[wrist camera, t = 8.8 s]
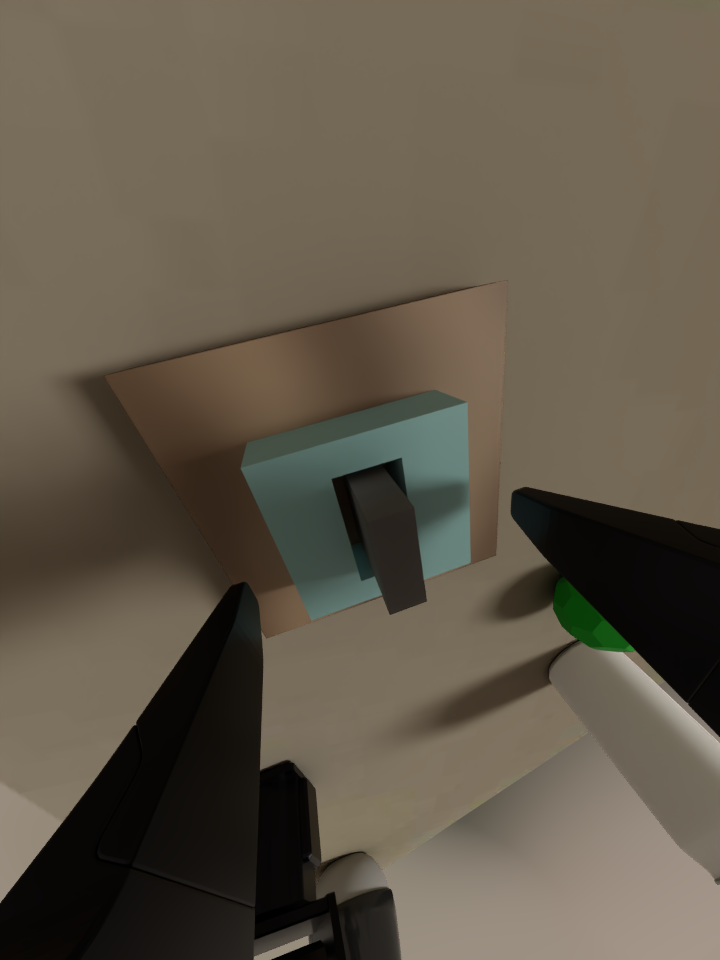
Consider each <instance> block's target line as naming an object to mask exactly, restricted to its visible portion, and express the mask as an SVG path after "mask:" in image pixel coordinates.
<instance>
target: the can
mask: <svg viewBox="0 0 720 960" xmlns="http://www.w3.org/2000/svg"><path fill="white" fill-rule="evenodd" d="M549 679H550V681H551V683H552V684H553V686H554V687H555V688H556V690H557V691H558V692H559V693H560V695H561V696H562V697H563V699H564V700H565V701H566V703H567V704H568V705H569V706H570V708H571V709H572V710H573V712H574V713H575V714H576V716H577V717H578V718H579V719H580V721H581V722H582V723H583V725H584V726H585V727H586V728H587V730H588V731H589V732H590V734H591V735H592V736H593V738H594V739H595V740H596V741H597V743H598V744H599V745H600V747H601V748H602V749H603V750H604V752H605V753H606V754H607V756H608V757H609V758H610V759H611V761H612V762H613V763H614V765H615V766H616V767H617V768H618V770H619V771H620V772H621V774H622V775H623V776H624V778H625V779H626V780H627V781H628V782H629V784H630V785H631V786H632V788H633V789H634V790H635V791H636V793H637V794H638V796H639V797H640V798H641V799H642V800H643V802H644V803H645V804H646V806H647V807H648V808H649V810H650V811H651V812H652V813H653V815H654V816H655V817H656V818H657V820H658V821H659V822H660V824H661V825H662V826H663V828H664V829H665V830H666V831H667V833H668V834H669V835H670V836H671V837H672V839H673V840H674V841H675V842H676V844H677V845H678V846H679V847H680V848H681V849H682V850H683V851H684V852H686V853H687V854H688V855H689V856H690V857H692V858H693V859H694V860H695V861H697V862H698V863H699V864H700V865H701V866H703V867H704V868H705V869H706V870H707V871H708V872H709V873H710V874H711V875H712V876H713V877H714V879H715V883H716V884H717V885H720V743H719V742H718V741H717V740H716V739H715V738H714V737H713V736H712V735H711V734H709V733H708V732H707V731H706V730H705V729H704V728H703V727H702V726H701V725H700V724H699V723H698V722H697V721H696V720H694V718H692V717H691V716H690V715H689V714H688V713H687V712H686V711H685V710H684V709H683V708H682V707H681V706H680V705H679V704H678V703H676V702H675V701H674V700H673V699H672V698H671V697H670V696H669V695H668V694H667V693H666V692H665V691H664V690H663V689H661V688H660V687H659V686H658V685H657V684H656V683H655V682H654V681H653V680H652V679H651V678H650V677H649V676H648V675H647V674H645V673H644V672H643V671H642V670H641V669H640V668H639V667H638V666H637V665H636V664H635V663H634V662H633V661H631V660H630V659H629V658H628V657H627V656H626V655H625V654H624V653H623V652H613V651H603V650H596V649H593V648H590V647H588V646H587V645H585V644H584V643H582V642H581V641H577V642H575V643H574V644H572V645H570V646H569V647H567V648H566V649H565V650H563V651H562V652H561V653H560V654H559V655H558V656H557V657H556V658H555V659H554V660H553V662H552V663H551V665H550V667H549Z"/></svg>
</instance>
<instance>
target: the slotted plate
mask: <svg viewBox="0 0 720 960" xmlns="http://www.w3.org/2000/svg"><path fill="white" fill-rule="evenodd" d="M385 462H386V466H387V471H388V474H389V475H390V476H391V477H392V479H393V480H394V481H395V483H396V484H397V485H398V487H399V488H400V489H401V490H402V492H403V493H404V494H405V496H406V497H407V498H408V499H409V501H410V502H411V503H412V505H413V506H414V509H415V517H416V524H417V532H418V539H419V547H420V554H421V562H422V569H423V576H424V580H425V579H428V578H431V577H433V576H436V575H439V574H442V573H444V572H447V571H450V570H453V569H455V568H458V567H461V566H464V565H466V564H469V563H471V552H470V500H469V448H468V402H466V401H463V400H461V399H458V398H455V397H453V396H450V395H448V394H445V393H442V392H440V391H437V390H433V391H429V392H426V393H422V394H418V395H415V396H411V397H408V398H404V399H401V400H397V401H394V402H390V403H386V404H383V405H379V406H376V407H372V408H369V409H365V410H361V411H358V412H354V413H351V414H347V415H344V416H340V417H337V418H333V419H329V420H326V421H322V422H319V423H315V424H312V425H308V426H305V427H301V428H297V429H294V430H290V431H287V432H283V433H280V434H276V435H272V436H269V437H265V438H262V439H258V440H255V441H251V442H248V443H247V445H246V449H245V453H244V457H243V461H242V464H241V470H242V472H243V475H244V477H245V479H246V481H247V483H248V485H249V487H250V490H251V492H252V494H253V496H254V498H255V500H256V503H257V505H258V507H259V509H260V511H261V513H262V515H263V518H264V520H265V522H266V524H267V526H268V528H269V530H270V533H271V535H272V537H273V539H274V541H275V543H276V546H277V548H278V550H279V552H280V554H281V556H282V558H283V561H284V563H285V565H286V567H287V569H288V571H289V574H290V576H291V578H292V580H293V582H294V584H295V586H296V589H297V591H298V593H299V595H300V597H301V599H302V601H303V604H304V606H305V608H306V610H307V612H308V614H309V617H310V619H311V621H312V620H315V619H317V618H320V617H323V616H326V615H328V614H331V613H334V612H337V611H340V610H342V609H345V608H348V607H351V606H353V605H356V604H359V603H362V602H364V601H367V600H370V599H373V598H375V597H378V596H381V595H382V594H381V591H380V588H379V586H378V583H377V581H376V578H375V576H374V573H373V571H372V568H371V566H370V563H369V561H368V558H367V556H366V553H365V551H364V548H363V546H362V543H361V542H360V543H357V544H354V545H350V541H349V538H348V534H347V531H346V528H345V524H344V521H343V517H342V514H341V510H340V507H339V504H338V500H337V497H336V493H335V490H334V487H333V483H332V480H331V479H333V478H336V477H340V476H343V475H346V474H349V473H353V472H356V471H359V470H362V469H366V468H369V467H372V466H375V465H379V464H382V463H385Z"/></svg>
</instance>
